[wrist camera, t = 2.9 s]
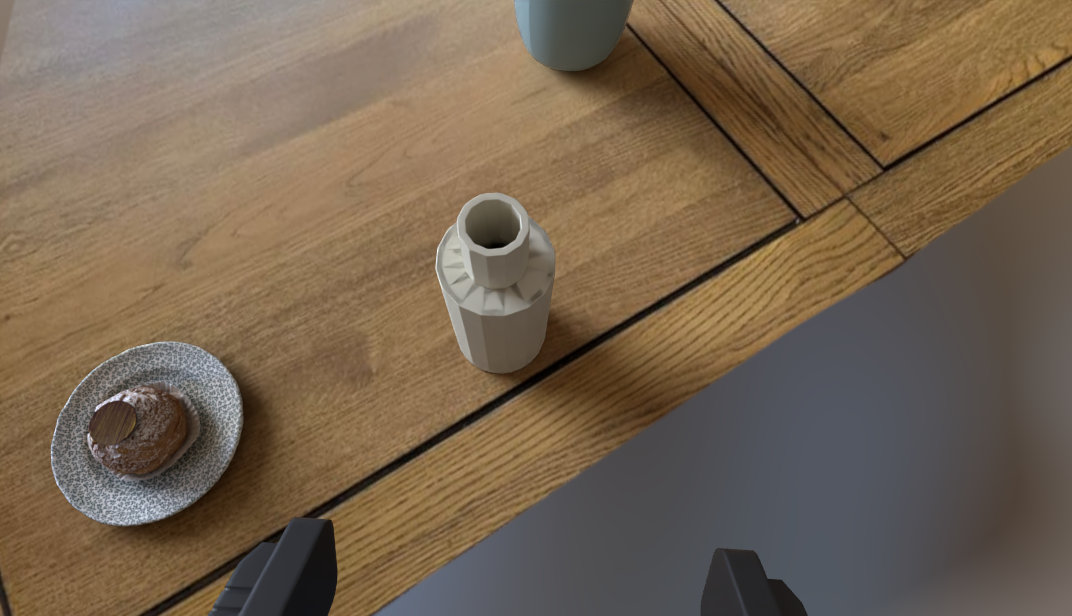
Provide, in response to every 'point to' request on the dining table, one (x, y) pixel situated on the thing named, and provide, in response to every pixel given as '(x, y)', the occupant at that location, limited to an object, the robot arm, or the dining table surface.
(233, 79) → the dining table surface
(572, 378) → the dining table surface
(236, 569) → the robot arm
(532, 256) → the white faceted vase
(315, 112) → the dining table surface
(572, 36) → the cup
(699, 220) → the dining table surface
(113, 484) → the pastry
